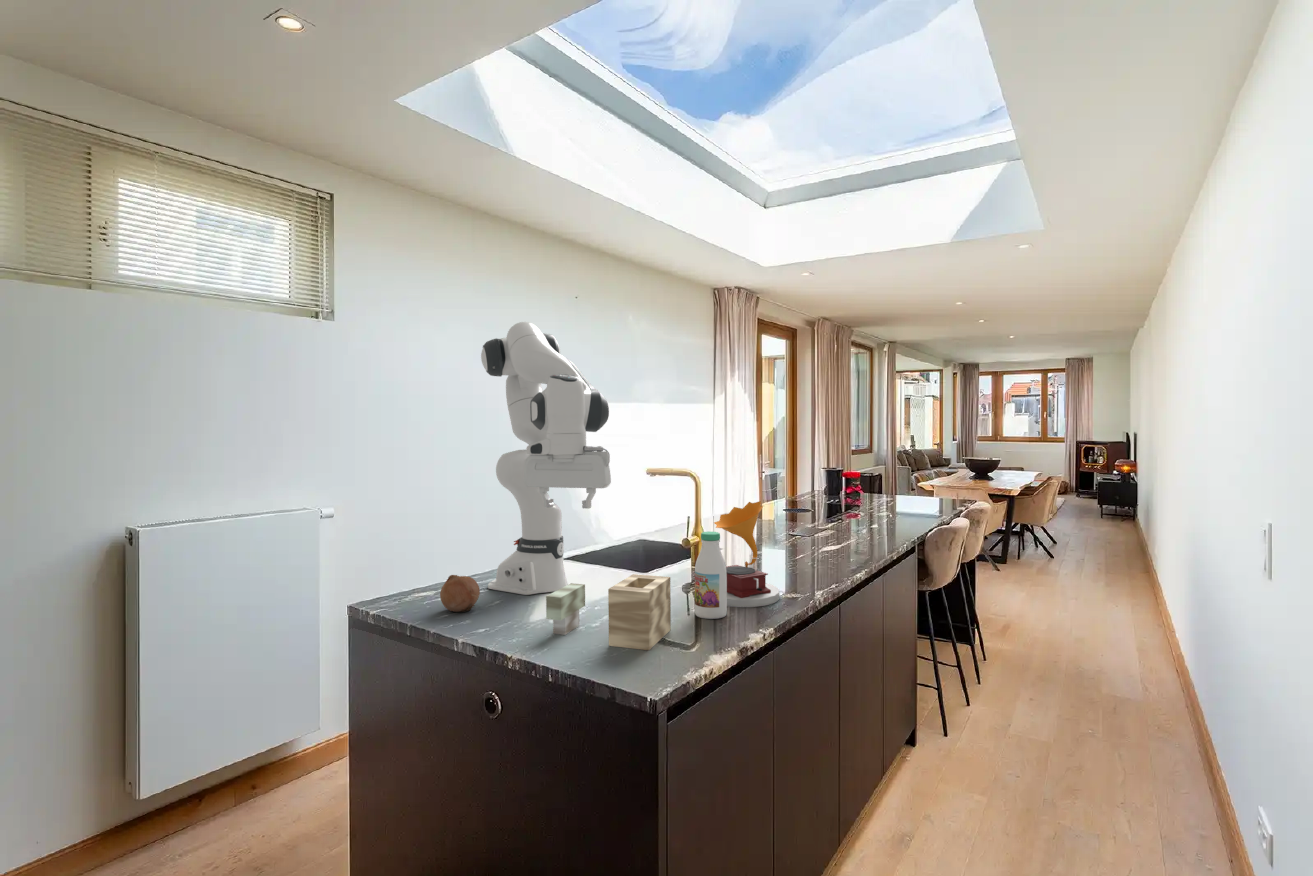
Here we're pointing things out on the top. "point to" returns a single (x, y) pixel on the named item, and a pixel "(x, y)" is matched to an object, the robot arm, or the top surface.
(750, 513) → the gramophone
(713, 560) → the milk bottle
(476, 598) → the onion
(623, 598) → the wooden square frame
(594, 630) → the top surface
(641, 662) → the top surface
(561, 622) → the rail end
